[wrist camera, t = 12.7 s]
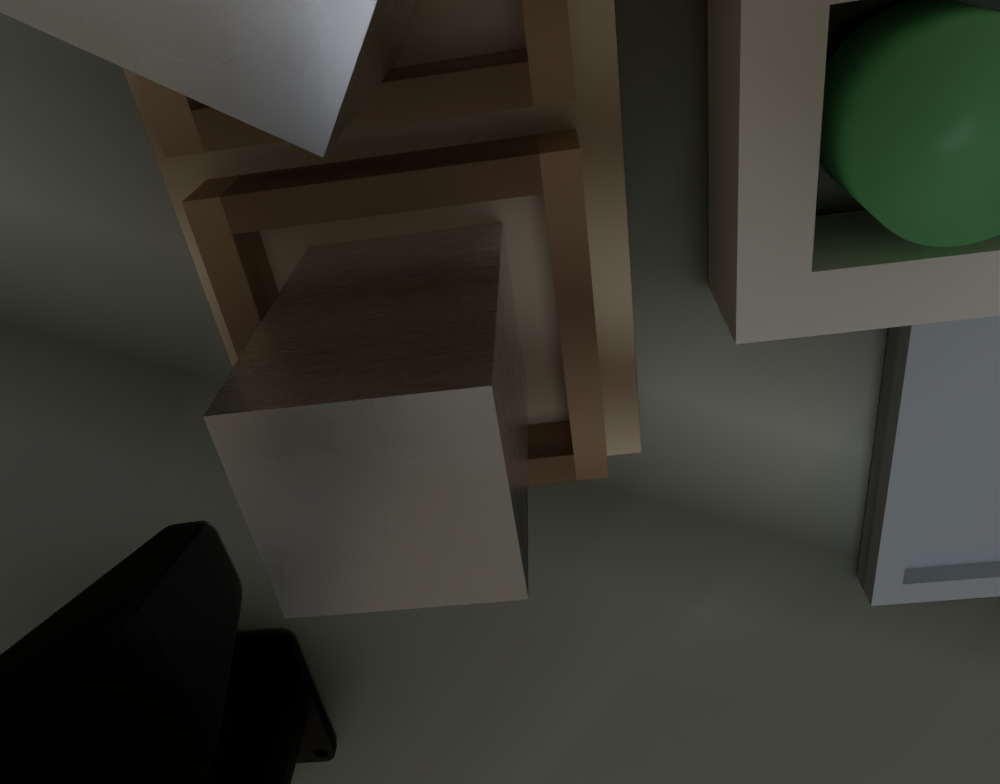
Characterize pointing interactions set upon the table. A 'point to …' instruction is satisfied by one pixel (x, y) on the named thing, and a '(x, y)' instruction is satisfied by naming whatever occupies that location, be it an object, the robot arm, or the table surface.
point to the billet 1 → (244, 53)
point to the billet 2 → (384, 427)
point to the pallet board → (446, 198)
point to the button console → (807, 199)
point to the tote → (935, 467)
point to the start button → (919, 121)
